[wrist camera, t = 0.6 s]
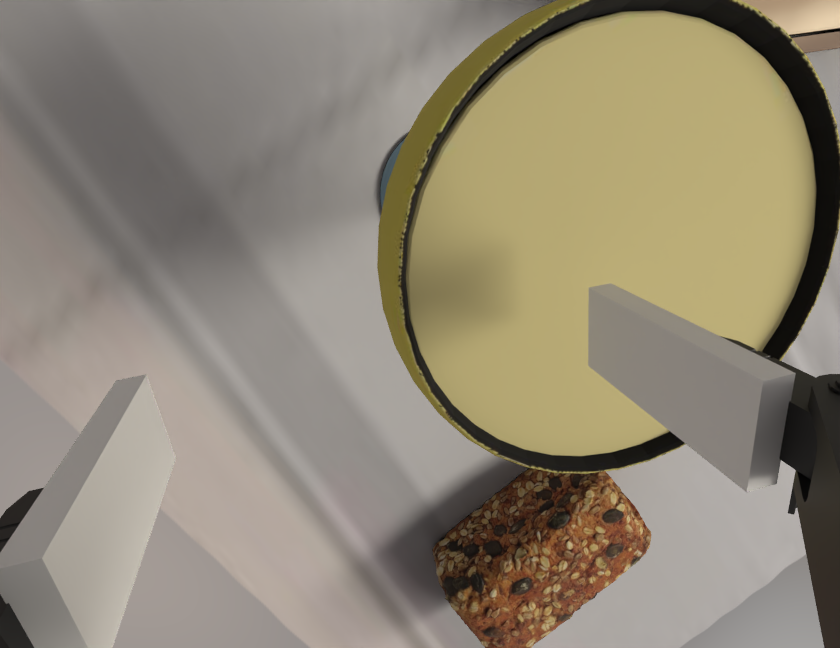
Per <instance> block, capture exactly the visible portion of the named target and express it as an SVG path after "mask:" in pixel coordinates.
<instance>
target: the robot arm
mask: <svg viewBox="0 0 840 648" xmlns="http://www.w3.org/2000/svg"><path fill="white" fill-rule="evenodd" d="M588 366H589V367H590V368H592V369H593V370H594V371H595V372H597V373H598V374H599V375H600V376H602V377H603V378H604V379H605V380H607V381H608V382H609V383H610V384H612V385H613V386H614V387H615V388H617V389H618V390H619V391H620V392H622V393H623V394H624V395H625V396H627V397H628V398H629V399H630V400H632V401H633V402H634V403H635V404H637V405H638V406H639V407H640V408H642V409H643V410H644V411H645V412H647V413H648V414H649V415H650V416H652V417H653V418H654V419H655V420H657V421H658V422H659V423H660V424H662V425H663V426H664V427H665V428H667V429H668V430H669V431H670V432H672V433H673V434H674V435H676V436H677V437H678V438H679V439H681V440H682V441H683V442H684V443H686V444H687V445H688V446H689V447H691V448H692V449H693V450H694V451H696V452H697V453H698V454H699V455H701V456H702V457H703V458H704V459H706V460H707V461H708V462H709V463H711V464H712V465H713V466H714V467H716V468H717V469H718V470H719V471H721V472H722V473H723V474H724V475H726V476H727V477H728V478H729V479H731V480H732V481H733V482H734V483H736V484H737V485H738V486H739V487H741V488H742V489H743V490H744V491H746V492H750V491H753V490H757V489H760V488H764V487H767V486H770V485H774V484H777V478H778V473H779V467H780V461H781V460H782V461H783V462H785V463H786V464H788V465H789V466H791V467H792V468H794V469H795V470H796V473H795V478H794V483H793V489H792V494H791V499H790V505H789V510H788V513H790V514H794V513H795V509H796V508H798V513H799V518H800V523H801V528H802V534H803V539H804V544H805V549H806V554H807V559H808V564H809V570H810V575H811V580H812V585H813V590H814V596H815V601H816V606H817V611H818V616H819V622H820V626H821V632H822V637H823V642H824V647H825V648H840V374H828V375H822V376H819V377H817V378H815V377H813V376H811V375H809V374H807V373H805V372H803V371H801V370H798V369H796V368H794V367H792V366H790V365H788V364H786V363H784V362H782V361H780V360H777V359H775V358H770V356H769V355H767V354H765V353H763V352H761V351H756V349H754V348H752V347H750V346H748V345H746V344H744V343H742V342H740V341H737V340H733V339H729V338H725V337H722V336H718V335H716V334H714V333H712V332H710V331H708V330H706V329H704V328H702V327H700V326H698V325H696V324H694V323H691V322H689V321H687V320H685V319H683V318H681V317H679V316H677V315H675V314H673V313H671V312H669V311H667V310H665V309H663V308H661V307H659V306H657V305H654V304H652V303H650V302H648V301H646V300H644V299H642V298H640V297H638V296H636V295H634V294H632V293H630V292H628V291H626V290H624V289H622V288H620V287H617V286H615V285H613V284H611V283H609V284H604V285H599V286H594V287H589V301H588ZM175 460H176V457H175V454H174V451H173V448H172V445H171V442H170V440H169V437H168V434H167V431H166V428H165V425H164V423H163V420H162V417H161V414H160V411H159V408H158V405H157V403H156V400H155V397H154V394H153V391H152V388H151V386H150V383H149V380H148V377H147V375H142V376H137V377H132V378H127V379H122V380H117V381H116V382H115V383H114V385H113V386H112V388H111V389H110V391H109V392H108V394H107V395H106V397H105V398H104V400H103V401H102V403H101V404H100V406H99V407H98V409H97V410H96V412H95V413H94V415H93V416H92V418H91V419H90V420H89V422H88V423H87V425H86V426H85V428H84V429H83V431H82V432H81V434H80V435H79V437H78V438H77V440H76V441H75V443H74V444H73V446H72V447H71V449H70V450H69V452H68V453H67V455H66V456H65V458H64V459H63V461H62V462H61V464H60V465H59V467H58V468H57V469H56V471H55V472H54V474H53V475H52V477H51V478H50V480H49V481H48V483H47V484H46V486H45V487H44V488H41V489H36V490H32V491H29V492H27V493H26V494H25V495H24V496H23V497H21V498H20V499H19V500H18V501H16V502H15V503H14V504H13V505H12V506H11V507H9V508H8V509H7V510H6V511H5V513H4V514H3V515H2V516H1V518H0V648H112V647H113V644H114V641H115V638H116V635H117V632H118V629H119V626H120V624H121V621H122V618H123V615H124V611H125V609H126V606H127V603H128V600H129V597H130V594H131V591H132V588H133V585H134V582H135V579H136V576H137V573H138V570H139V567H140V564H141V561H142V558H143V555H144V552H145V549H146V546H147V543H148V540H149V537H150V534H151V532H152V528H153V525H154V523H155V520H156V517H157V514H158V511H159V508H160V505H161V502H162V499H163V496H164V493H165V490H166V487H167V484H168V481H169V478H170V475H171V472H172V469H173V466H174V463H175Z"/></svg>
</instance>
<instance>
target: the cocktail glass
mask: <svg viewBox="0 0 840 648" xmlns="http://www.w3.org/2000/svg"><path fill="white" fill-rule="evenodd" d="M380 201H381V209H382V213H381V218H380V223H379V237H378V267H377V268H378V275H379V282H380V290H381V297H382V304H383V310H384V313H385V316H386V319H387V322H388V325H389V329H390V332H391V335H392V338H393V341H394V344H395V346H396V349H397V351H398V352H399V354H400V356H401V358H402V360H403V362H404V364H405V366H406V368H407V369H408V371H409V373H410V375H411V377H412V379H413V381H414V382H415V384H416V385H417V386H418V388H419V389H420V390H421V391H422V393H423V394H424V395H425V397H426V398H427V399H428V400H429V402H430V403H431V404H432V405H433V407H434V408H435V409H436V410H437V412H438V413H439V414H440V415H441V416H442V417H443V418H444V419H446V420H447V421H448V422H449V423H450V424H451V425H452V426H453V427H455V428H456V429H457V430H458V431H459V432H460V433H461V434H463V435H464V436H465V437H466V438H467V439H469V440H470V441H472V442H474V443H475V444H477V445H479V446H480V447H482V448H484V449H485V450H487V451H489V452H490V453H492V454H494V455H495V456H498V457H500V458H503V459H506V460H508V461H511V462H514V463H516V464H519V465H522V466H524V467H528V468H533V469H538V470H543V471H548V472H554V473H580V474H588V473H596V472H603V471H611V470H618V469H622V468H626V467H629V466H633V465H636V464H640V463H643V462H647V461H650V460H652V459H655V458H657V457H659V456H662V455H664V454H666V453H669V452H671V451H673V450H676V449H678V448H680V447H682V446H683V445H685V444H686V443H684V442H683V441H682V440H681V439H679V438H678V437H677V436H676V435H674V434H673V433H672V432H670V431H669V430H668V429H667V428H665V427H664V426H663V425H662V424H660V423H659V422H658V421H657V420H655V419H654V418H653V417H652V416H650V415H649V414H648V413H647V412H645V411H644V410H643V409H642V408H640V407H639V406H638V405H637V404H635V403H634V402H633V401H632V400H630V399H629V398H628V397H627V396H625V395H624V394H623V393H622V392H620V391H619V390H618V389H617V388H615V387H614V386H613V385H612V384H610V383H609V382H608V381H607V380H605V379H604V378H603V377H602V376H600V375H599V374H598V373H597V372H595V371H594V370H593V369H592V368H590V367H589V366H588V301H589V287H594V286H599V285H604V284H609V283H611V284H613V285H615V286H617V287H620V288H622V289H624V290H626V291H628V292H630V293H632V294H634V295H636V296H638V297H640V298H642V299H644V300H646V301H648V302H650V303H652V304H654V305H657V306H659V307H661V308H663V309H665V310H667V311H669V312H671V313H673V314H675V315H677V316H679V317H681V318H683V319H685V320H687V321H689V322H691V323H694V324H696V325H698V326H700V327H702V328H704V329H706V330H708V331H710V332H712V333H714V334H716V335H718V336H722V337H725V338H729V339H733V340H737V341H740V342H742V343H744V344H746V345H748V346H750V347H752V348H754V349H756V351H761V352H763V353H765V354H767V355H769V356H770V358H775V359H777V360H780V361H781V360H782V358H783V357H784V355H785V354H786V353H787V351H788V350H789V348H790V347H791V345H792V344H793V342H794V341H795V339H796V338H797V336H798V335H799V333H800V331H801V329H802V327H803V326H804V324H805V322H806V320H807V318H808V316H809V314H810V312H811V310H812V308H813V307H814V305H815V303H816V300H817V298H818V295H819V293H820V290H821V287H822V285H823V282H824V280H825V277H826V274H827V272H828V269H829V266H830V262H831V258H832V254H833V250H834V246H835V242H836V238H837V234H838V230H839V222H840V141H839V135H838V129H837V123H836V120H835V117H834V114H833V111H832V108H831V106H830V103H829V100H828V97H827V94H826V91H825V88H824V86H823V85H822V83H821V81H820V79H819V77H818V75H817V74H816V72H815V70H814V68H813V66H812V64H811V63H810V61H809V59H808V57H807V56H806V55H805V54H804V52H803V51H802V50H801V49H800V48H799V46H798V45H797V44H796V43H795V42H794V41H793V39H792V38H791V37H790V36H789V35H788V33H787V32H786V31H785V30H784V29H783V28H781V27H780V26H779V25H777V24H776V23H775V22H774V21H772V20H771V19H770V18H769V17H767V16H766V15H765V14H763V13H762V12H761V11H760V10H758V9H757V8H755V7H753V6H751V5H749V4H747V3H745V2H743V1H741V0H557V1H554V2H552V3H550V4H548V5H545V6H543V7H541V8H538V9H536V10H534V11H531V12H529V13H527V14H525V15H523V16H522V17H520V18H518V19H517V20H515V21H514V22H512V23H511V24H509V25H508V26H506V27H505V28H503V29H502V30H500V31H499V32H497V33H496V34H494V35H493V36H491V37H490V38H488V39H487V40H485V41H484V42H483V43H482V44H481V45H480V46H479V47H477V48H476V49H475V50H474V51H473V52H472V53H471V54H470V55H469V56H468V57H467V58H466V59H465V60H464V61H463V62H461V63H460V64H459V65H458V66H457V67H456V68H455V69H454V70H453V71H452V72H451V73H450V74H449V75H448V76H447V77H446V79H445V80H444V81H443V82H442V84H441V85H440V86H439V88H438V89H437V90H436V91H435V93H434V94H433V95H432V97H431V98H430V99H429V100H428V102H427V103H426V104H425V106H424V107H423V108H422V110H421V112H420V113H419V115H418V117H417V119H416V121H415V122H414V124H413V126H412V128H411V130H410V132H409V133H408V135H407V137H406V138H405V139H404V140H403V141H402V142H401V143H399V145H398V146H397V147H396V149H395V150H394V151H393V152H392V154H391V156H390V158H389V160H388V161H387V164H386V166H385V169H384V172H383V175H382V180H381V186H380Z"/></svg>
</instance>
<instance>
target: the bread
mask: <svg viewBox="0 0 840 648" xmlns="http://www.w3.org/2000/svg"><path fill="white" fill-rule="evenodd" d="M650 541H651V531H650V530H649V529H648V528H647V527H646V525H645V523H644V521H643V520H642V518H641V516H640V514H639V512H638V511H637V509H636V508H635V506H634V505H633V504H632V503H631V502H630V500H629V499H628V498H627V497H626V496H625V495H624V494H623V493H622V492H621V489H620V488H619V487H618V486H617V485H616V484H615V482H614V481H613V480H612V479H611V477H610V476H609V475H608V474H607V473H606V472H605V471H603V472H596V473H588V474H580V473H554V472H548V471H543V470H538V469H533V468H531V469H528V470H526V471H525V472H523V473H522V474H520V475H519V476H518V477H517V479H516V480H515V481H512V482H511V483H510V484H509V485H508V486H506V487H504V488H503V489H502V490H501V491H500V492H498V493H496V494H495V495H494V496H493V497H492V498H491V499H490V500H488V501H486V502H485V503H484V505H483V508H481V509H479V510H475V511H474V512H473V513H471V514H470V515H469V516H468V517H466V518H465V519H464V520H462V521H461V522H460V523H459V524H458V525H457V526H456V527H455V528H453V529H452V530H450V531H449V532H448V533H447V535H446V536H445V538H444V540H441V541H439V542H438V543H437V544H436V545H435V546H434V548H433V556H434V558H435V560H434V561H435V562H436V569H437V570H436V574H437V575H438V580H439V584H440V586H441V587H442V588H443V590H444V591H445V595H446V598H445V599H446V600H448V601H449V603H450V605H451V607H452V608H453V610H455V611H456V613H457V614H458V615H459V616H460V617H461V619H462V620H463V621H464V623H465V624H467V626H468V627H469V629H470V630H471V631H472V632H473V633H474V634H475V635H476V636H477V638H478V639H479V640H480V642H481V644H482V645H483V646H485V648H531V647H532V646H533V645H534V644H535V643H536V642H538V641H539V640H541V639H542V638H544V637H545V636H547V635H548V634H549V633H550V632H551V631H553V630H555V629H556V628H557V626H559V625H560V624H562V623H563V622H565V621H566V620H568V619H570V618H571V617H572V615H573V613H574V612H575V611H577V610H579V609H580V607H581V606H582V605H583V604H585V603H587V602H588V601H589V600H591V599H593V598H595V596H596V595H597V593H598V592H600V591H601V590H603V589H604V588H606V587H607V586H609V585H610V584H611V583H613V582H614V581H615V580H616V579H617V578H618V577H619V576H621V574H622V573H624V572H626V571H627V570H628V569H629V568H630V567H631V566H633V565H634V564H635V563H636V562H638V561H639V560H640V559H641V557H642V556H643V555H644V554H645V553H646V551H647V550H648V548H649V546H650Z"/></svg>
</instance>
